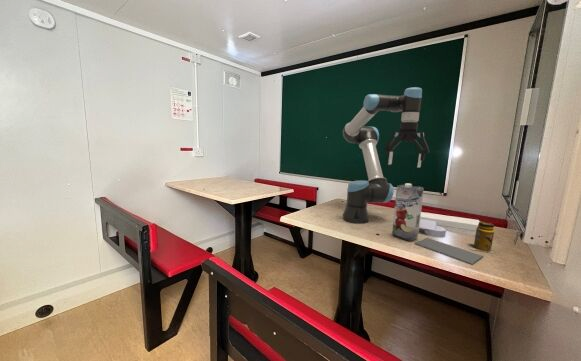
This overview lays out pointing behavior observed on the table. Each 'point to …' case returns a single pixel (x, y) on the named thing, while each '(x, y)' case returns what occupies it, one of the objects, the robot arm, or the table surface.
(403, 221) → the juice carton
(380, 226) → the table surface
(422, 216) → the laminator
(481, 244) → the condiment
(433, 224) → the wedge on round base
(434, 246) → the mat
